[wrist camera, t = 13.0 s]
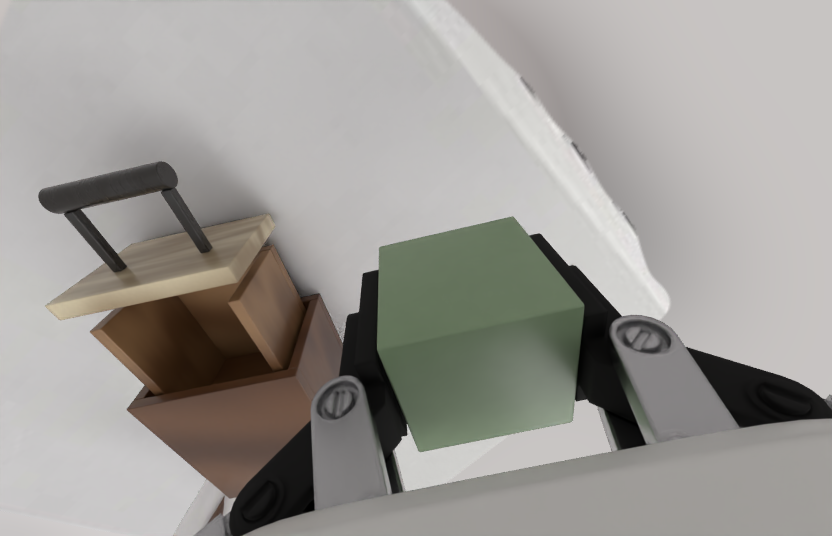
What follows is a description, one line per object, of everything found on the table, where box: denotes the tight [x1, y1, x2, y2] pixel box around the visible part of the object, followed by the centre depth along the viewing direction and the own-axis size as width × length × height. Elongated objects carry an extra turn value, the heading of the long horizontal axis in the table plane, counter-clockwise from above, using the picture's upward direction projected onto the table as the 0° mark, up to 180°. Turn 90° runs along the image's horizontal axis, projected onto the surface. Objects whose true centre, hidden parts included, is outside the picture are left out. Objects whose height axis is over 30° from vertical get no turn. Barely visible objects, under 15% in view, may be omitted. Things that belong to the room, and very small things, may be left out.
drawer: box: [38, 161, 307, 396], centre depth 24 cm, size 19×11×8 cm, turn 11°
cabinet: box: [127, 294, 343, 499], centre depth 31 cm, size 15×13×10 cm
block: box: [377, 217, 584, 452], centre depth 10 cm, size 4×4×4 cm
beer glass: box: [173, 479, 236, 536], centre depth 37 cm, size 7×7×15 cm
